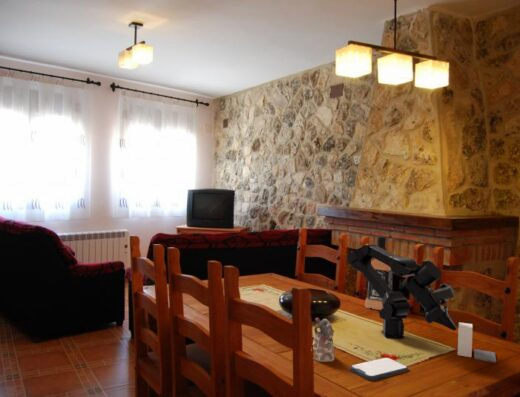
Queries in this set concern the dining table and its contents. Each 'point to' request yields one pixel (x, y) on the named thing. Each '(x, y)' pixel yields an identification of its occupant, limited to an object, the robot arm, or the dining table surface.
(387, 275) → the whiskey bottle
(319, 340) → the figurine
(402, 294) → the robot arm
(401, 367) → the phone case
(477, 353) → the rubber mat
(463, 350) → the white rectangular block
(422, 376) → the dining table surface
